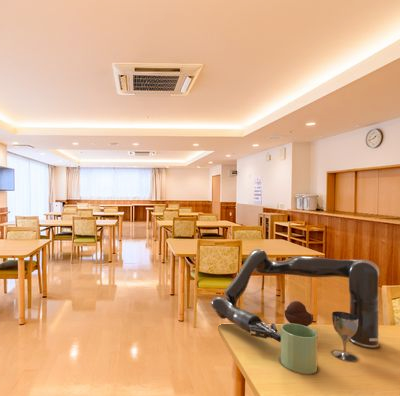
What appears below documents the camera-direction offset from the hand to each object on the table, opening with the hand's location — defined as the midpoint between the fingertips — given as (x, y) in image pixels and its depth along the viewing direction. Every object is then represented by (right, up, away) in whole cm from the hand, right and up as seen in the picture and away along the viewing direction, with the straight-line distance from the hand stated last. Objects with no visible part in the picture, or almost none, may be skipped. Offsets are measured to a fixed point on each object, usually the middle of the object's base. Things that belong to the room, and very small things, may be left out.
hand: (281, 339), depth 106 cm
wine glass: (+24, -7, +1) cm, 25 cm away
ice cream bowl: (+15, -7, +16) cm, 23 cm away
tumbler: (+4, -7, -4) cm, 9 cm away
